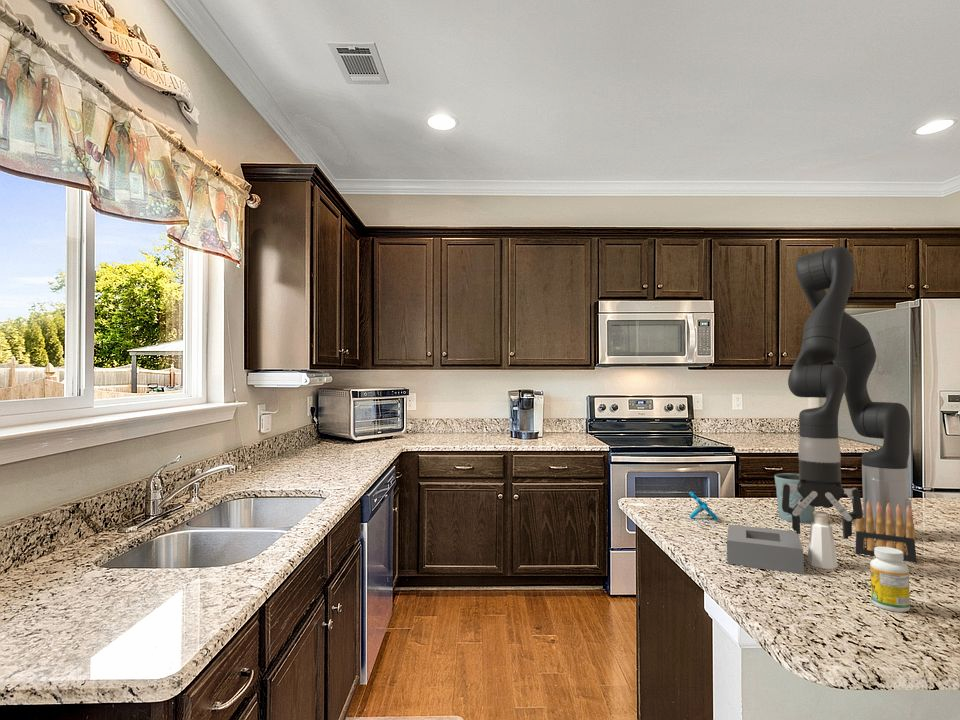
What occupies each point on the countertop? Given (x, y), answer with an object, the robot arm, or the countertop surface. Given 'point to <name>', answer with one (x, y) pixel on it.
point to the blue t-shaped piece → (701, 507)
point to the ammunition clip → (886, 532)
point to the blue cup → (791, 498)
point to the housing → (765, 548)
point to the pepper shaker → (821, 543)
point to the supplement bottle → (890, 580)
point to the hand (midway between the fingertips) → (821, 535)
